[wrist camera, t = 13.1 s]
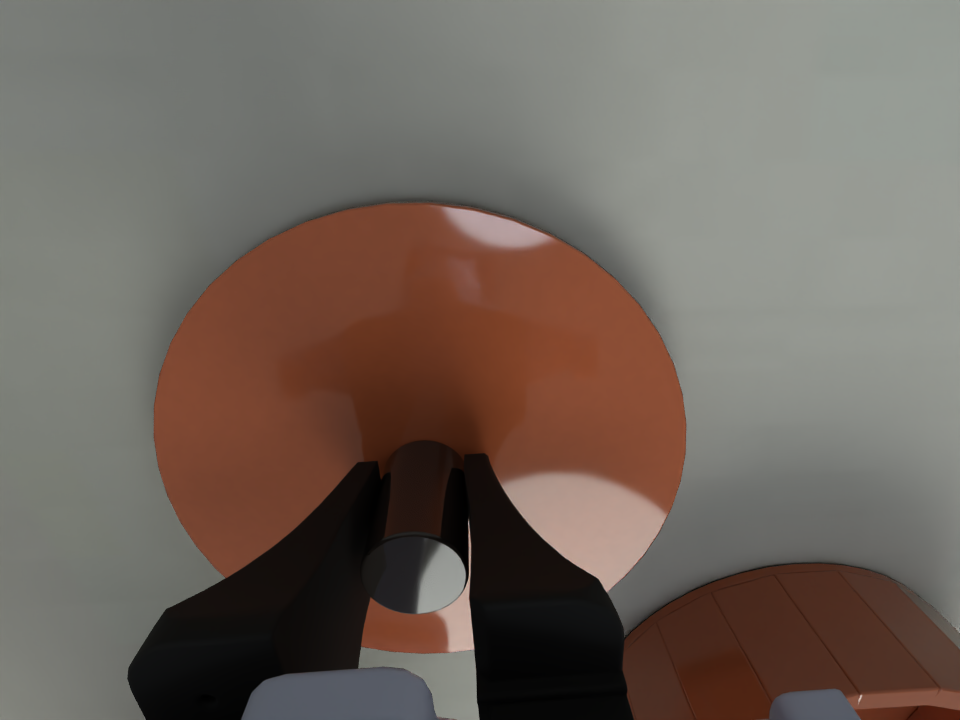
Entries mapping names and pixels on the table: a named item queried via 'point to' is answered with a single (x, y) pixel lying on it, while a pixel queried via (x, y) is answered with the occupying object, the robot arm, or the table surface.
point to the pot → (794, 647)
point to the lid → (420, 403)
